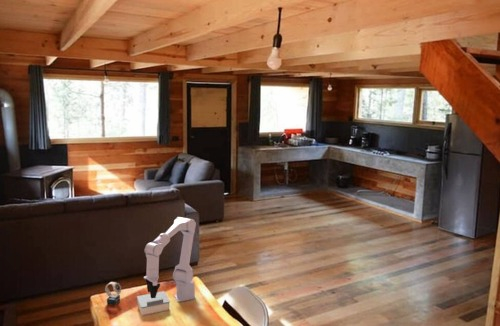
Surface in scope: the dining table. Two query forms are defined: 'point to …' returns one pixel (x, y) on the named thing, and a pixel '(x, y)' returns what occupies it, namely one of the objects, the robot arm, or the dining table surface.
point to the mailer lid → (152, 299)
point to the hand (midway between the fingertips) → (151, 294)
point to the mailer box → (153, 309)
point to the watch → (113, 298)
